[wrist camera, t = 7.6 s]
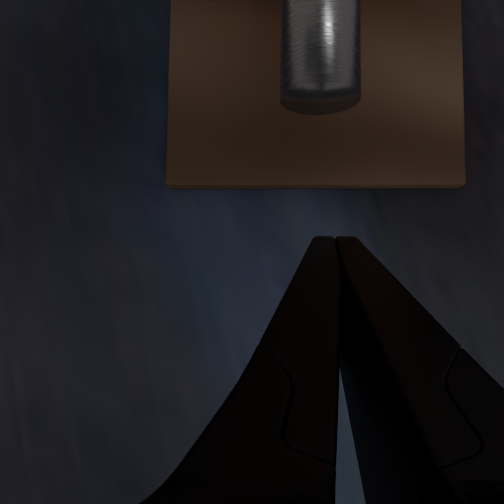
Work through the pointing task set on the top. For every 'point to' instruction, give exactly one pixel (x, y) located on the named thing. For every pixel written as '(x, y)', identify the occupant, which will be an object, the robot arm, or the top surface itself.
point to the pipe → (320, 55)
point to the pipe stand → (314, 126)
